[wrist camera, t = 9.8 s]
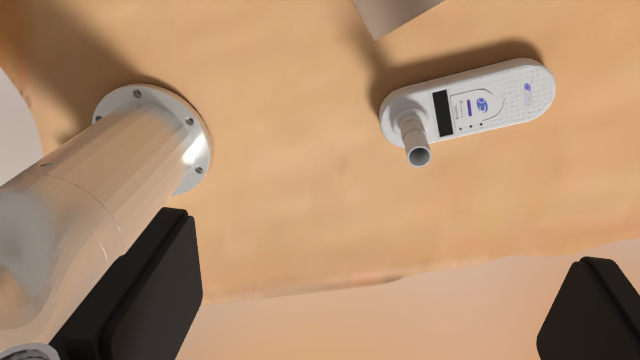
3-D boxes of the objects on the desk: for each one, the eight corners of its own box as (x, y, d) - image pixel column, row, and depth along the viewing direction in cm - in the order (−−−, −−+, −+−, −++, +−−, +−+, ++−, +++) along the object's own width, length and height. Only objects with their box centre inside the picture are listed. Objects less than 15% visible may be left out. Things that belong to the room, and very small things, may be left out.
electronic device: (598, 151, 30) (391, 193, 33) (546, 106, 39) (385, 142, 42) (599, 81, 28) (376, 133, 31) (543, 48, 36) (373, 92, 39)
